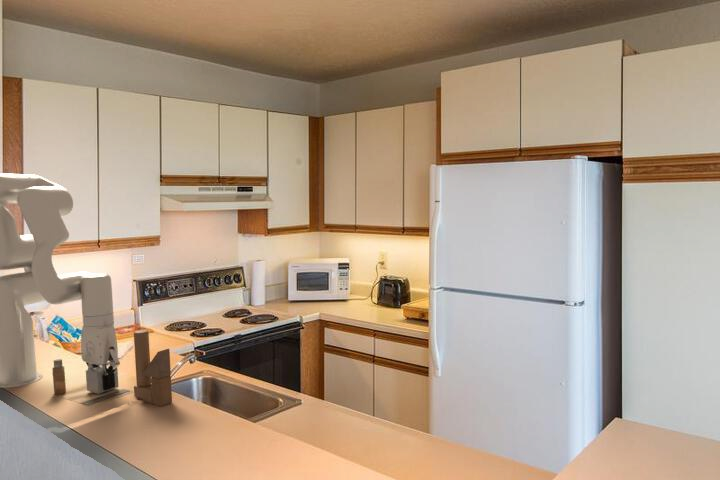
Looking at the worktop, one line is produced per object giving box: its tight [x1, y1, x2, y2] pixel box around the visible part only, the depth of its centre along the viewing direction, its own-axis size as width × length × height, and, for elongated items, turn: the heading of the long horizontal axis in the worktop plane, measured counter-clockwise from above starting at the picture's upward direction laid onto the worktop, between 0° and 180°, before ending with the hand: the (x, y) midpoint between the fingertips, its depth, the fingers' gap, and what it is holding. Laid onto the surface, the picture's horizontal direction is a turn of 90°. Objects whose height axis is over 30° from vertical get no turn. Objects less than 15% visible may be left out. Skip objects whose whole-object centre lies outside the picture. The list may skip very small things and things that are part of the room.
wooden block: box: [133, 329, 173, 407], centre depth 149 cm, size 4×11×18 cm, turn 58°
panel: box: [52, 383, 134, 408], centre depth 154 cm, size 18×12×1 cm, turn 57°
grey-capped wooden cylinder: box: [52, 358, 67, 396], centre depth 154 cm, size 3×3×9 cm
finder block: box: [85, 364, 120, 394], centre depth 155 cm, size 5×6×6 cm
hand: (102, 386), depth 155 cm, fingers closed on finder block, 5 cm apart
